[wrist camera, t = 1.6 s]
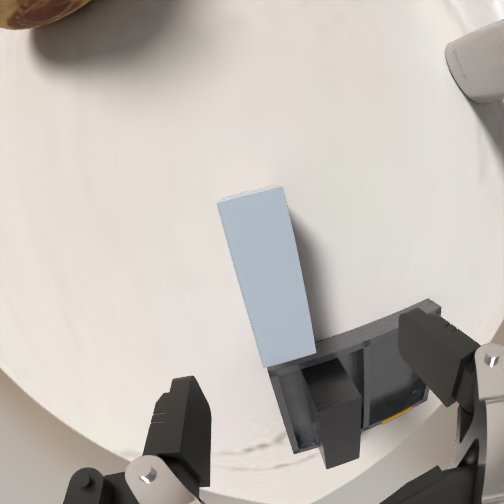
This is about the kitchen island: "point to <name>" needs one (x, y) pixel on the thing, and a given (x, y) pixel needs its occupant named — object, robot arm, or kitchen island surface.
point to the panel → (269, 273)
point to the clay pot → (35, 12)
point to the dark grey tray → (347, 388)
